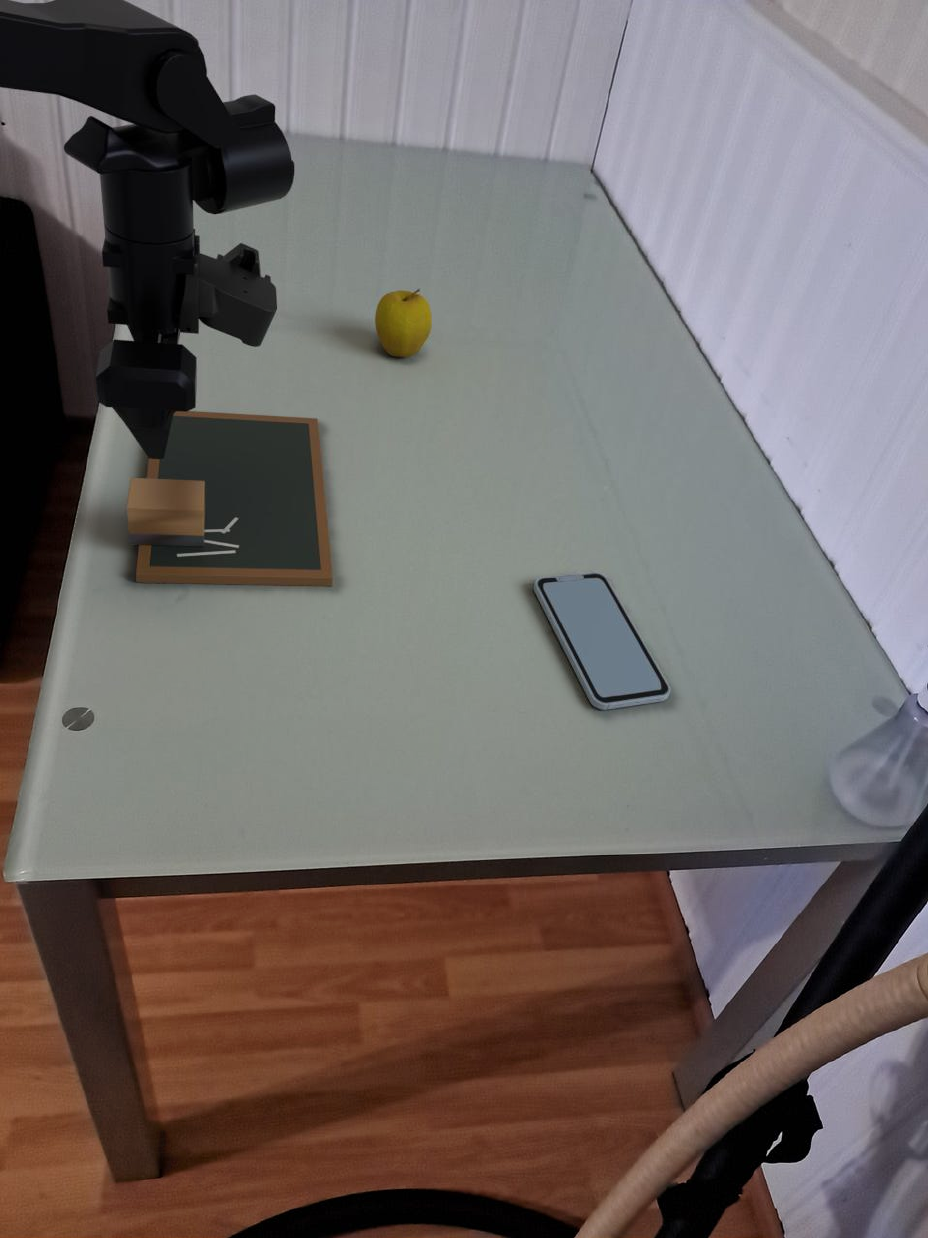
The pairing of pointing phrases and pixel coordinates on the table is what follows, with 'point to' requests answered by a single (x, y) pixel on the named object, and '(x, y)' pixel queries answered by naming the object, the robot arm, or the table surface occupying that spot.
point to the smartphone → (601, 641)
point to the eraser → (166, 512)
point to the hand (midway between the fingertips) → (160, 422)
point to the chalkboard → (246, 502)
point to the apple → (403, 322)
